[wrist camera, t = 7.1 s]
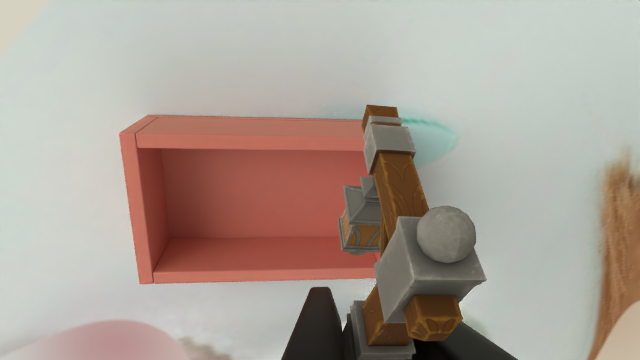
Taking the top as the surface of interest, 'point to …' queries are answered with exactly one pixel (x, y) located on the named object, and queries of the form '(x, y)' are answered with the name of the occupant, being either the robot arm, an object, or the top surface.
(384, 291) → the wooden post with brackets
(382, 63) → the top surface
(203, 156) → the tray
